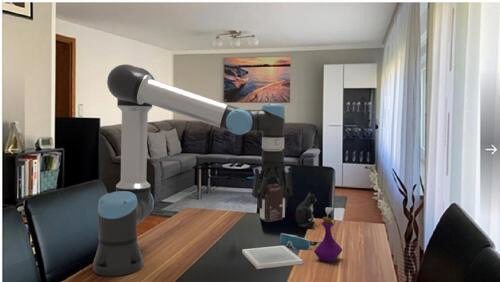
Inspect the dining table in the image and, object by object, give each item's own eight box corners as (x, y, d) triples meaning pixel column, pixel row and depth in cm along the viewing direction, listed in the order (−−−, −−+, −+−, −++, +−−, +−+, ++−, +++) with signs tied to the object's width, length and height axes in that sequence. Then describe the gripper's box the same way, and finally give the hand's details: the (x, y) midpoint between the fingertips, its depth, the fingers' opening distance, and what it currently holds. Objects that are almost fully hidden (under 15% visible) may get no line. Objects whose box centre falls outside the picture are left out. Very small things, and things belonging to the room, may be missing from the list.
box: (269, 222, 139) (269, 187, 138) (261, 219, 143) (261, 185, 142) (283, 220, 142) (283, 185, 141) (275, 217, 146) (275, 183, 145)
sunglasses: (273, 244, 159) (274, 231, 159) (295, 240, 170) (296, 228, 171) (305, 253, 150) (306, 239, 150) (325, 248, 161) (326, 235, 162)
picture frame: (257, 269, 134) (257, 265, 133) (242, 252, 149) (242, 249, 149) (302, 263, 139) (302, 260, 138) (283, 248, 154) (283, 245, 154)
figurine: (322, 228, 180) (323, 194, 179) (301, 231, 177) (302, 196, 176) (311, 223, 189) (312, 190, 188) (291, 225, 186) (292, 191, 185)
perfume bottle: (334, 265, 137) (336, 211, 136) (313, 260, 141) (314, 208, 140) (342, 258, 144) (343, 207, 143) (321, 254, 148) (323, 204, 146)
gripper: (248, 151, 134) (248, 222, 136) (304, 150, 140) (303, 217, 142) (242, 149, 141) (241, 216, 143) (295, 148, 148) (293, 212, 149)
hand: (272, 217), depth 143 cm, fingers closed on box, 7 cm apart
